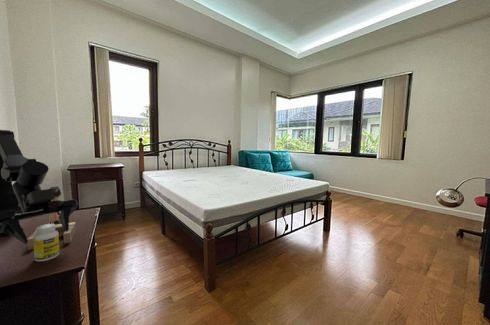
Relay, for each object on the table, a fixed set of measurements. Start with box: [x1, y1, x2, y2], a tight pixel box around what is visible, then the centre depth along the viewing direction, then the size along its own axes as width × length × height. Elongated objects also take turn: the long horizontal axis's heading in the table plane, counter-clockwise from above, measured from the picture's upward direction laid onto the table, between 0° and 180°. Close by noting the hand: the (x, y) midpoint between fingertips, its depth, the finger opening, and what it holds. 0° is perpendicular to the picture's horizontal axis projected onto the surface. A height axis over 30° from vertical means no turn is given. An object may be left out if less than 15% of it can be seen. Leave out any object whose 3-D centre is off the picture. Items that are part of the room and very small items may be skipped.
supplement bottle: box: [33, 223, 60, 262], centre depth 61 cm, size 5×5×10 cm
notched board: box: [26, 221, 77, 251], centre depth 72 cm, size 10×10×4 cm
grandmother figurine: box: [47, 195, 62, 224], centre depth 87 cm, size 8×4×13 cm, turn 172°
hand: (48, 236), depth 60 cm, fingers open, 9 cm apart
